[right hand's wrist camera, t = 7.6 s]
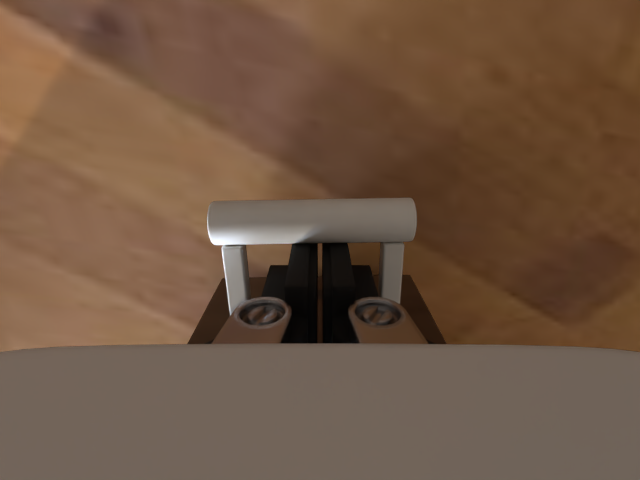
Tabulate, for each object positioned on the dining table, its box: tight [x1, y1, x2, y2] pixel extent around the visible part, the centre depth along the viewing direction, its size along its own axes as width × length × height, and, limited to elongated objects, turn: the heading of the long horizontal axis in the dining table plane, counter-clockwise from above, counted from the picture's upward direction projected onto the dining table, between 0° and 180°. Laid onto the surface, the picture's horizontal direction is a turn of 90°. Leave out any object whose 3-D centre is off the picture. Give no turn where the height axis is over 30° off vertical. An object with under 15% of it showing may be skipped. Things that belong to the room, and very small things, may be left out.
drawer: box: [188, 198, 446, 344], centre depth 15 cm, size 22×9×8 cm, turn 1°
